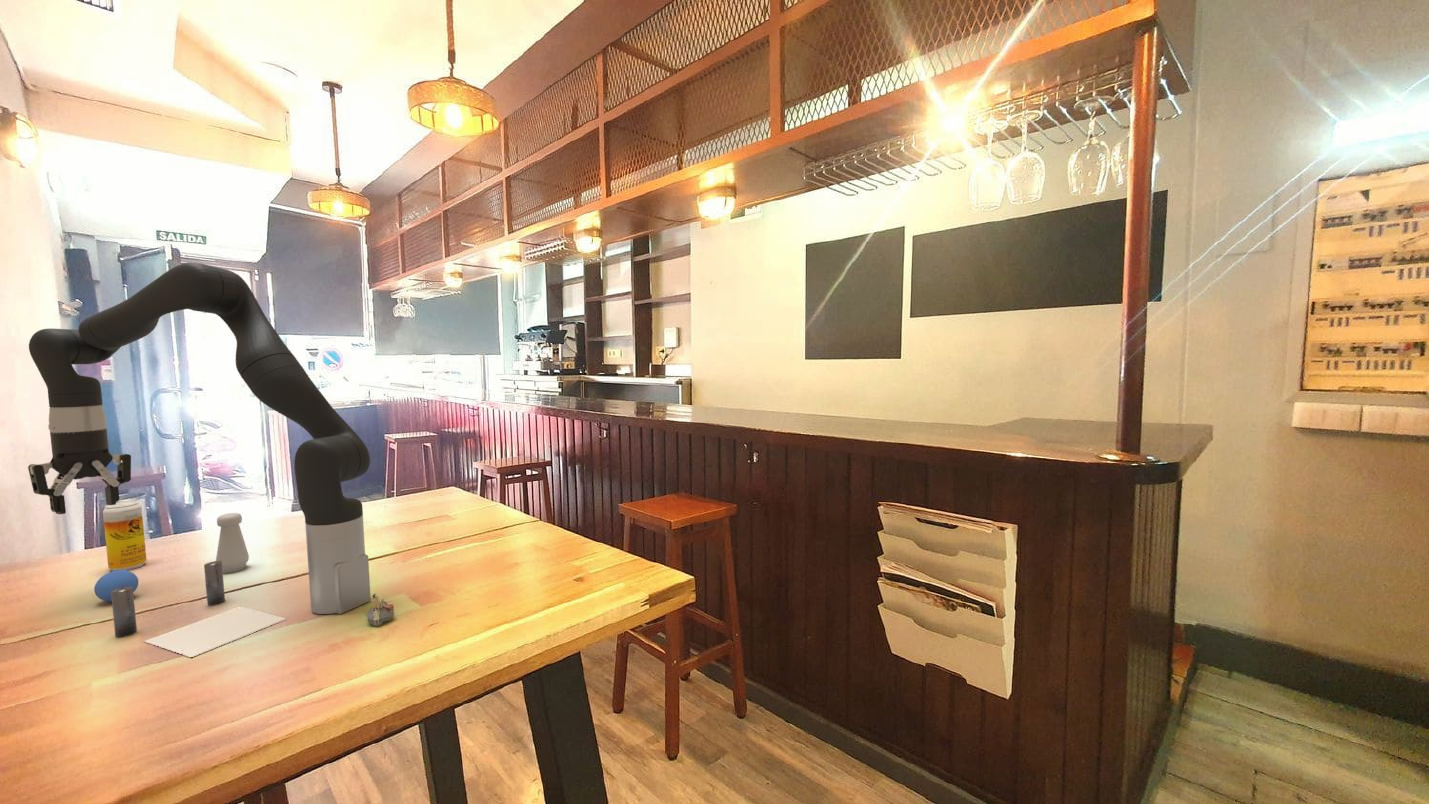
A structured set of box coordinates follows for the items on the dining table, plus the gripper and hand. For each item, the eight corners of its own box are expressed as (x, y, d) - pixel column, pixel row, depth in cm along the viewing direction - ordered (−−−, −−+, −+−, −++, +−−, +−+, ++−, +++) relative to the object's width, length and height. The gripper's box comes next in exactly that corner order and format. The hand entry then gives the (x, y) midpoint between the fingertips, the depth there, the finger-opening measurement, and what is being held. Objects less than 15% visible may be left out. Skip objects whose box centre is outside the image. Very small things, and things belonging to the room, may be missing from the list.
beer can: (126, 572, 124) (120, 507, 123) (100, 572, 124) (94, 507, 123) (154, 562, 130) (148, 500, 129) (129, 562, 130) (123, 500, 129)
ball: (146, 596, 112) (143, 567, 111) (105, 608, 106) (101, 579, 106) (130, 591, 114) (127, 563, 113) (89, 603, 108) (86, 574, 108)
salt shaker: (219, 576, 121) (214, 519, 120) (213, 570, 125) (208, 515, 124) (253, 568, 126) (248, 513, 125) (246, 563, 130) (241, 509, 128)
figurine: (370, 615, 102) (368, 586, 101) (396, 612, 104) (395, 583, 103) (363, 632, 98) (361, 602, 96) (391, 629, 99) (390, 599, 98)
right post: (228, 600, 109) (224, 561, 109) (212, 606, 107) (208, 566, 106) (220, 598, 110) (217, 560, 110) (204, 604, 108) (201, 564, 107)
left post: (140, 631, 97) (135, 587, 97) (119, 638, 95) (115, 593, 94) (132, 628, 98) (128, 585, 98) (112, 635, 96) (107, 591, 95)
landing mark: (286, 619, 101) (285, 618, 101) (191, 658, 88) (190, 657, 88) (240, 607, 106) (240, 606, 106) (144, 642, 93) (144, 641, 93)
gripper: (33, 434, 102) (42, 520, 104) (136, 425, 116) (143, 502, 117) (15, 432, 105) (24, 516, 107) (118, 423, 119) (125, 498, 120)
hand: (86, 508), depth 112 cm, fingers open, 6 cm apart
